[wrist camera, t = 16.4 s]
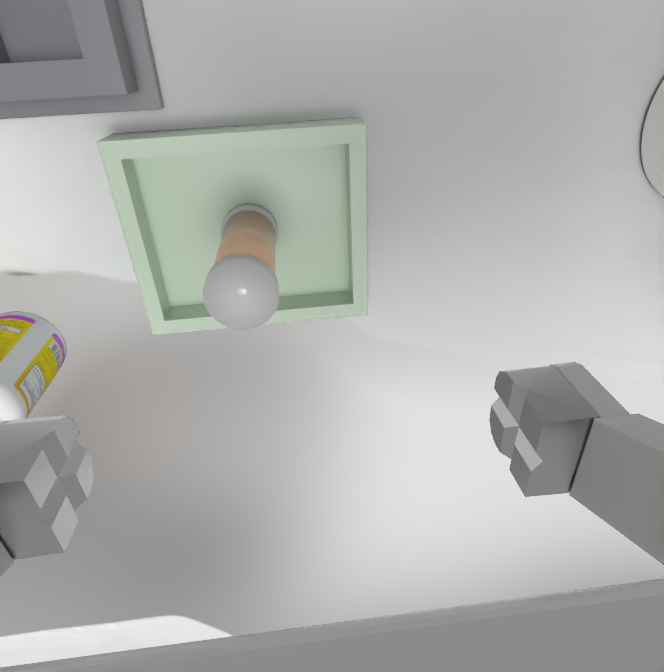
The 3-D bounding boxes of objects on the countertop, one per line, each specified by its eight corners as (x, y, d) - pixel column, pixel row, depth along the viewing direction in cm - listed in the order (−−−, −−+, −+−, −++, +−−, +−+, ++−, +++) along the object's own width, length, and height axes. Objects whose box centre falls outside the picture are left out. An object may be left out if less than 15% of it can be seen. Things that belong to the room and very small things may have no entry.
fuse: (274, 201, 37) (274, 259, 27) (280, 254, 39) (282, 326, 29) (218, 205, 36) (196, 265, 26) (227, 258, 39) (210, 332, 29)
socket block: (115, -122, 27) (92, -146, 24) (163, 107, 34) (151, 113, 30) (-103, -115, 26) (-159, -139, 23) (-11, 118, 33) (-44, 126, 29)
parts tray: (358, 117, 35) (366, 123, 32) (361, 296, 43) (367, 314, 40) (112, 133, 34) (97, 141, 31) (161, 314, 42) (153, 334, 39)
